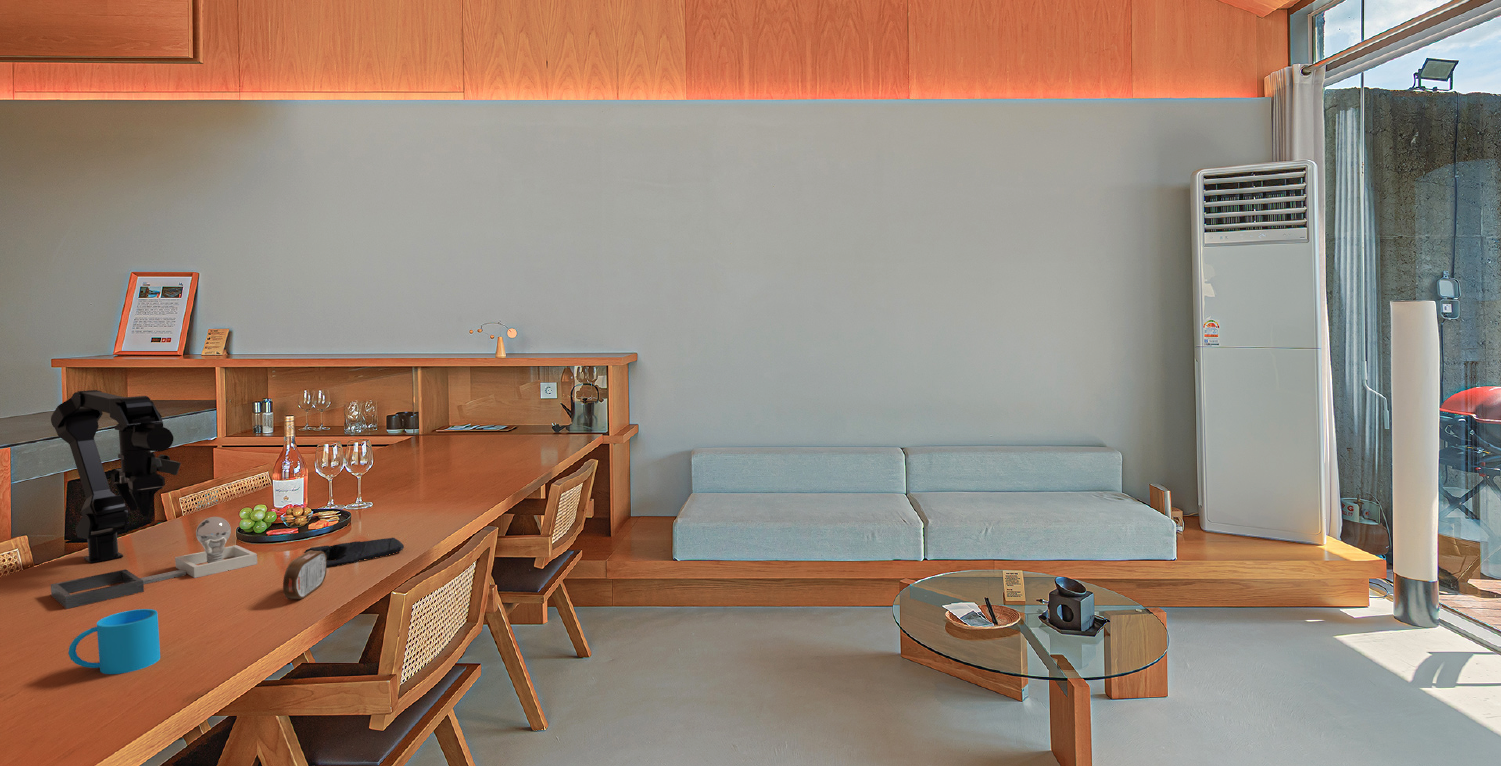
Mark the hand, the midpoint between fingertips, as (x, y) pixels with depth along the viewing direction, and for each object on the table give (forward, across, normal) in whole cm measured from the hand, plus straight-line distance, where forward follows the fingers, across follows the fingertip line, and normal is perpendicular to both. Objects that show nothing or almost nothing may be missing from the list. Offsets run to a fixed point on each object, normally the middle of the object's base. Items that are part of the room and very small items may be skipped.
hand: (139, 513), depth 188 cm
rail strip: (+13, -15, 0) cm, 20 cm away
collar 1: (+13, -16, +12) cm, 24 cm away
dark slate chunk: (+14, -32, -35) cm, 50 cm away
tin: (+13, -52, -16) cm, 56 cm away
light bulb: (+13, -14, -11) cm, 22 cm away
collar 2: (+13, -14, -11) cm, 22 cm away
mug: (+13, -65, +20) cm, 69 cm away
